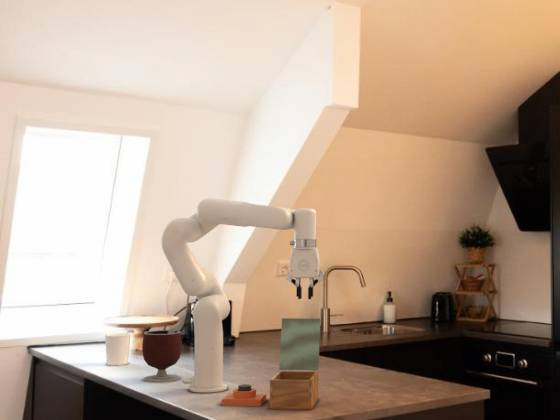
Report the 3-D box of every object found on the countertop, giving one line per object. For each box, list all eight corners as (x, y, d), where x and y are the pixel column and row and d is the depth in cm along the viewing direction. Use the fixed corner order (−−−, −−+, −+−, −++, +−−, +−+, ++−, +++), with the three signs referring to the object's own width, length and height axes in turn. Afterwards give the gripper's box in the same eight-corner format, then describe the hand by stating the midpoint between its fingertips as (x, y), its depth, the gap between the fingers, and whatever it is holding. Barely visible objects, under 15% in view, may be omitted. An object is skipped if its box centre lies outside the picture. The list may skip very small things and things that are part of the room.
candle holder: (130, 361, 319) (130, 332, 319) (129, 365, 310) (130, 335, 310) (105, 362, 316) (105, 333, 316) (104, 366, 306) (104, 336, 307)
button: (236, 392, 237) (236, 386, 237) (239, 389, 241) (239, 384, 241) (249, 392, 237) (249, 386, 237) (252, 390, 241) (252, 384, 241)
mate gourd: (159, 384, 269) (160, 327, 270) (133, 380, 277) (134, 324, 277) (192, 377, 282) (193, 323, 283) (167, 373, 290) (167, 321, 290)
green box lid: (320, 318, 249) (320, 318, 250) (281, 318, 250) (282, 318, 251) (318, 369, 244) (318, 370, 245) (279, 369, 245) (279, 369, 246)
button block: (221, 405, 234) (222, 392, 235) (229, 399, 243) (229, 386, 244) (260, 406, 234) (260, 392, 234) (266, 399, 243) (266, 387, 243)
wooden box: (311, 409, 229) (311, 380, 229) (269, 409, 229) (270, 379, 230) (318, 398, 244) (318, 371, 245) (279, 398, 245) (279, 370, 245)
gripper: (279, 244, 255) (279, 299, 255) (327, 244, 255) (327, 299, 254) (283, 244, 263) (283, 298, 262) (330, 244, 262) (330, 298, 261)
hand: (304, 298), depth 258 cm, fingers closed
